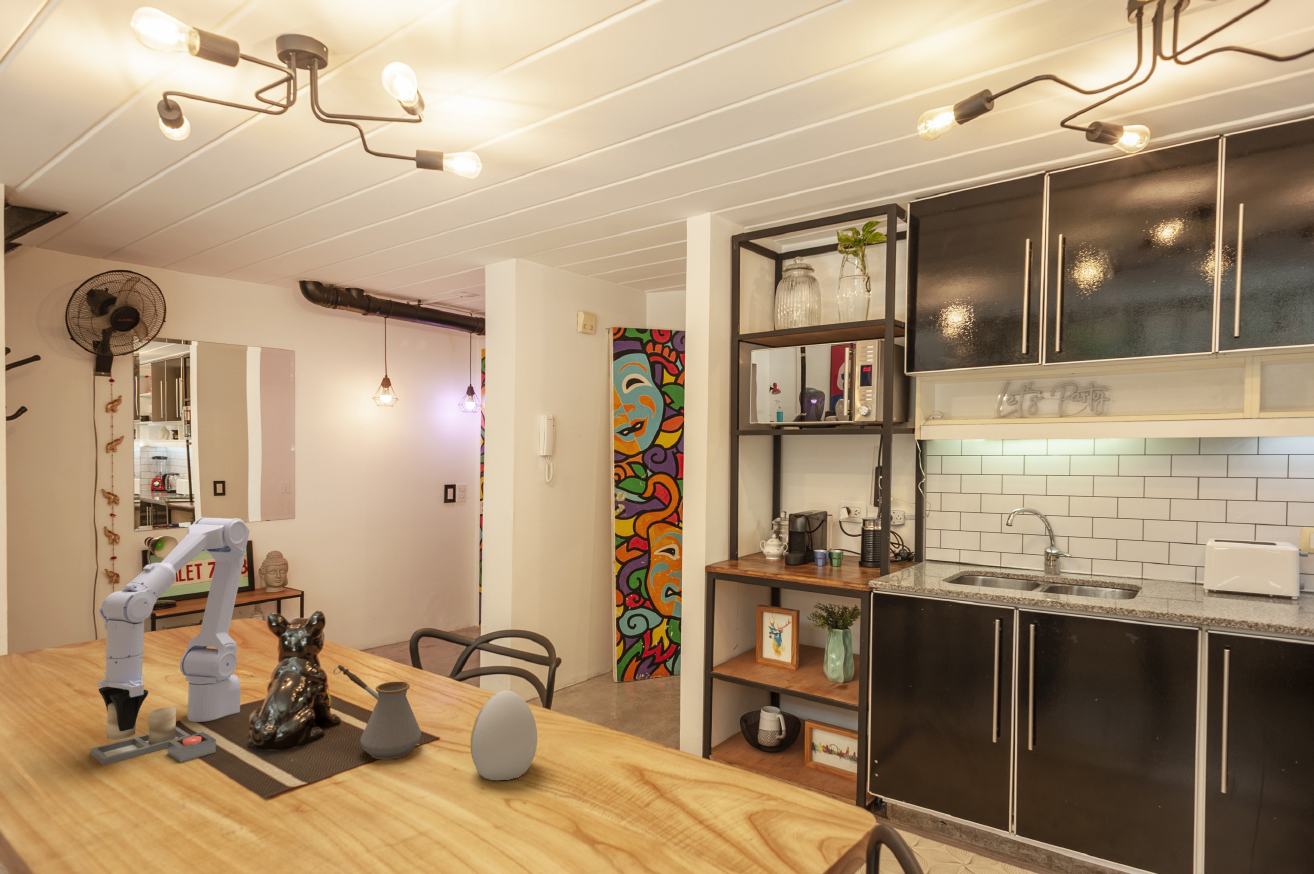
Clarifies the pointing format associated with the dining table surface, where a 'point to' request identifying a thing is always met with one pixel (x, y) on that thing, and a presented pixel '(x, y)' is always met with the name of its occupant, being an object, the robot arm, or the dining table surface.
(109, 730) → the billet
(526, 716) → the decorative egg
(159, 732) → the cylinder
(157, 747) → the shallow grey tray
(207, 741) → the button housing
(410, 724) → the coffee pot
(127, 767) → the dining table surface
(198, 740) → the button
